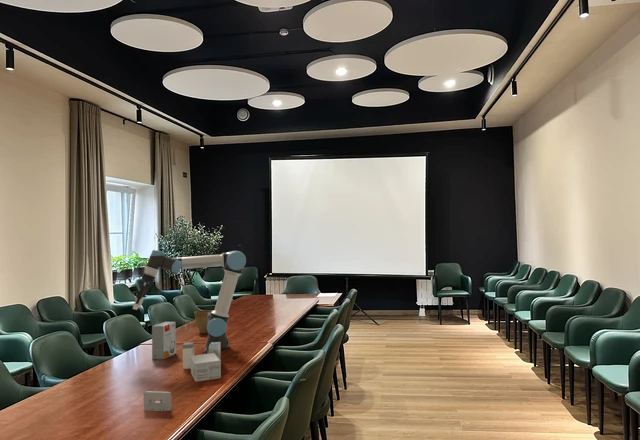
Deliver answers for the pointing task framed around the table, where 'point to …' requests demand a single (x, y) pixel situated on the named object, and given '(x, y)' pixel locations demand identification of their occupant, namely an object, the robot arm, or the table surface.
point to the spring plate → (205, 351)
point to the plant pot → (202, 320)
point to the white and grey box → (187, 354)
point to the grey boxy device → (215, 349)
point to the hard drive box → (163, 340)
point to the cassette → (157, 405)
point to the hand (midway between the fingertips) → (136, 308)
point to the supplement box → (205, 367)
